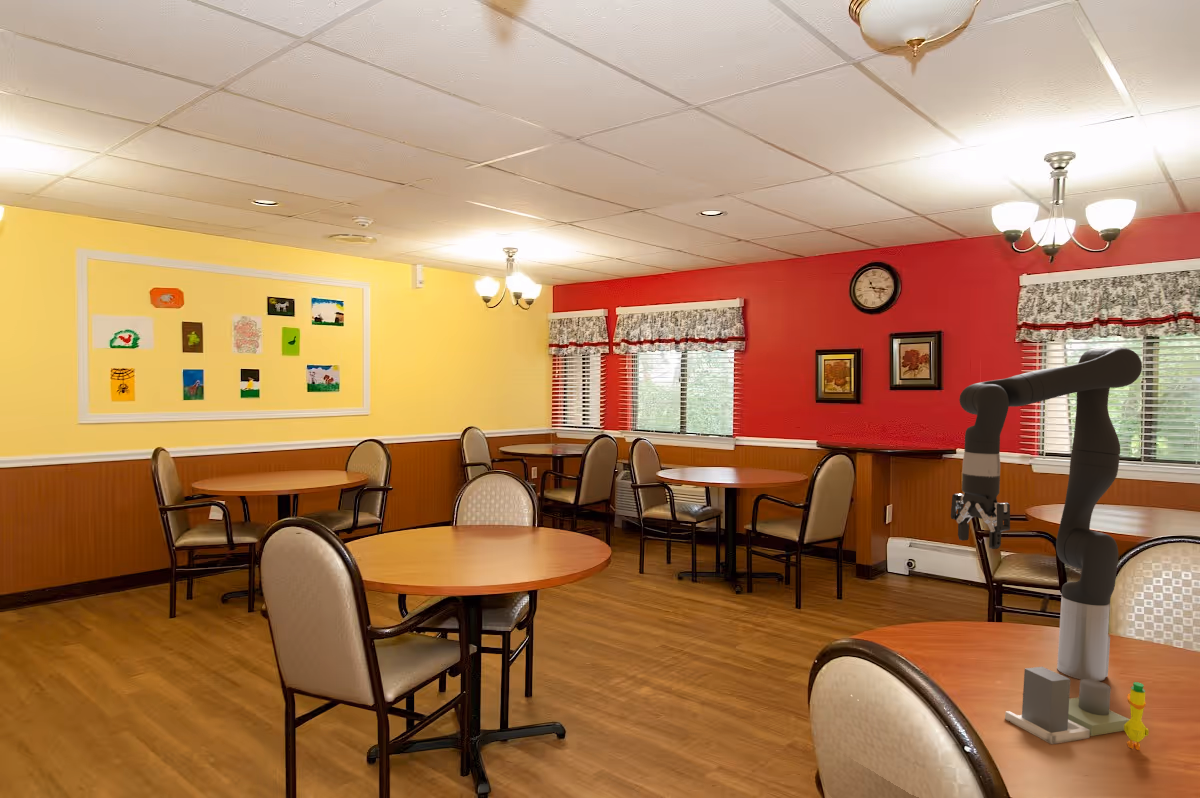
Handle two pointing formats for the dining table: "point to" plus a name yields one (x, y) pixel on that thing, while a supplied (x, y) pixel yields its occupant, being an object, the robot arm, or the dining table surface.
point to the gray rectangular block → (1046, 699)
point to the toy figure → (1136, 716)
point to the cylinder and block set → (1080, 716)
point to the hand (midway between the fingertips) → (978, 544)
